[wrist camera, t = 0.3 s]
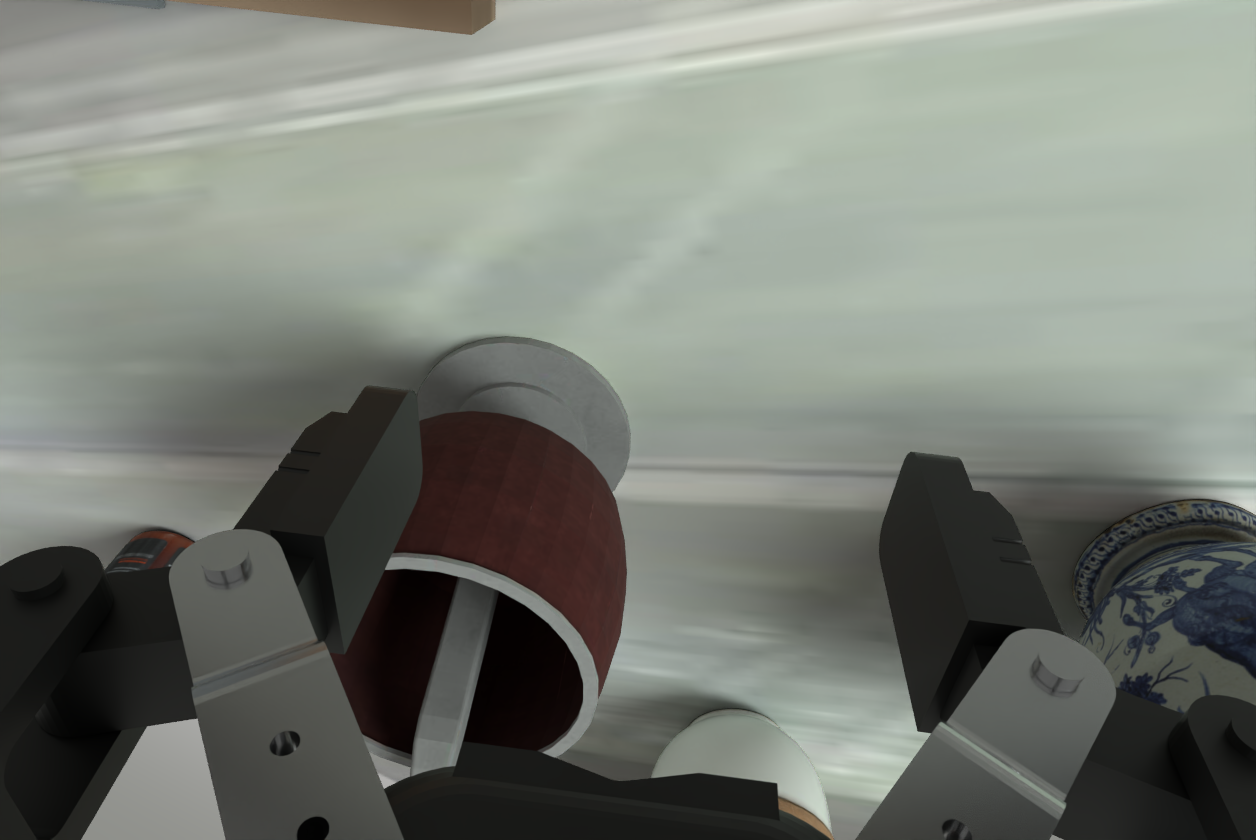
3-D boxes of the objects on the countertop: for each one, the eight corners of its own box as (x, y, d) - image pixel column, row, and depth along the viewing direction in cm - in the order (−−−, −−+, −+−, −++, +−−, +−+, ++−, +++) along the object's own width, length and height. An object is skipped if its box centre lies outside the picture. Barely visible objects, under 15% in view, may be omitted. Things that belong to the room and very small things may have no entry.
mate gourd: (398, 303, 43) (196, 575, 26) (662, 345, 43) (626, 646, 26) (404, 527, 52) (254, 838, 35) (624, 562, 52) (579, 891, 35)
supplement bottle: (113, 548, 55) (-12, 688, 46) (166, 512, 53) (46, 651, 43) (185, 604, 58) (81, 747, 48) (238, 571, 55) (140, 715, 46)
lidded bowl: (854, 713, 57) (879, 873, 48) (778, 808, 64) (788, 964, 55) (683, 662, 56) (675, 816, 47) (624, 764, 63) (608, 916, 54)
